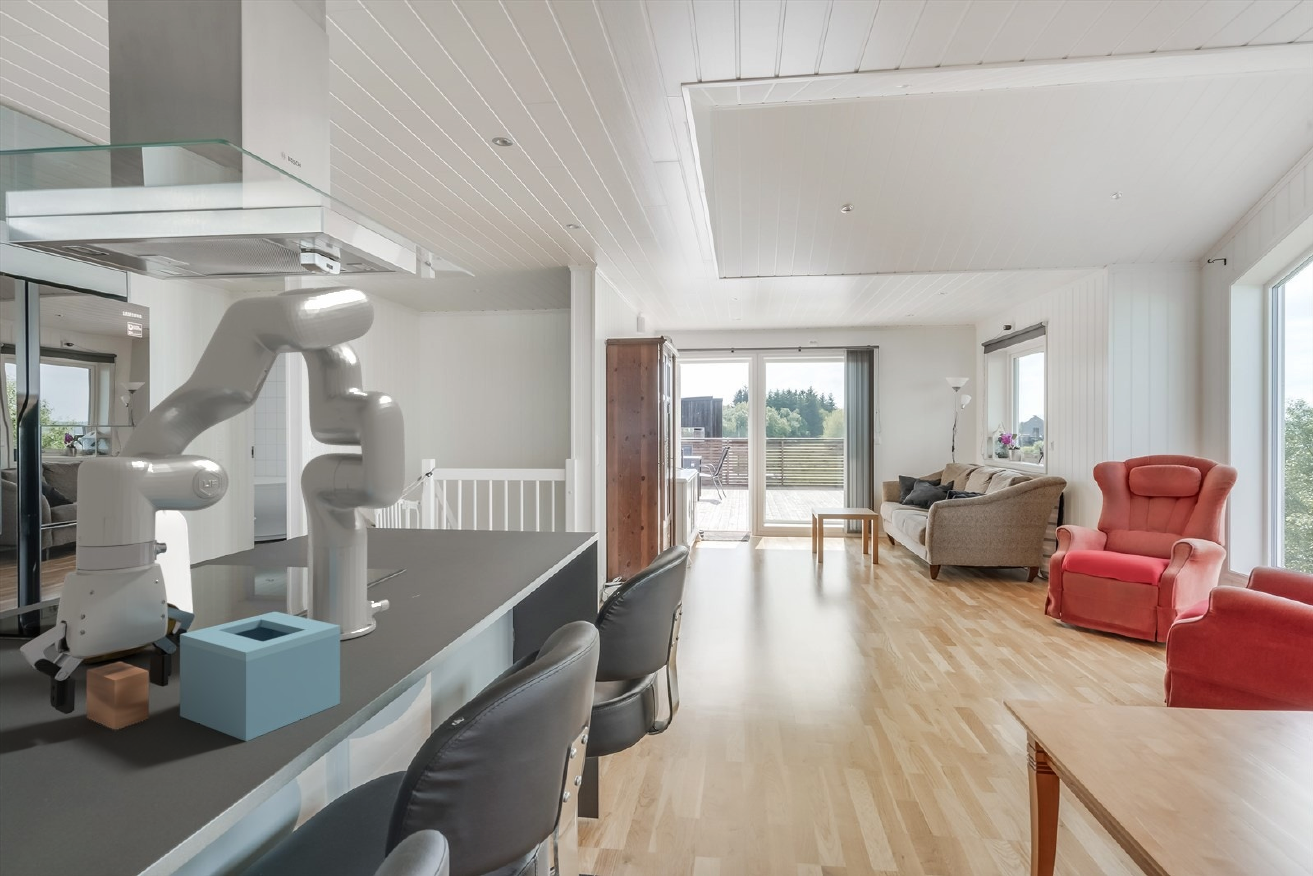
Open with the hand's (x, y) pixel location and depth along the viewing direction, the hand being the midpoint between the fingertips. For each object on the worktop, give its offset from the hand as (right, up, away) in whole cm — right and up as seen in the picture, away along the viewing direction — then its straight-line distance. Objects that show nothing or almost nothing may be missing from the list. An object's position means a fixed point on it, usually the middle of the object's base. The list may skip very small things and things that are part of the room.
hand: (114, 696), depth 81 cm
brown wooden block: (0, -3, 0) cm, 3 cm away
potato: (-16, -3, +23) cm, 28 cm away
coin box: (+16, -3, +3) cm, 17 cm away
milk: (-28, -3, +39) cm, 48 cm away
